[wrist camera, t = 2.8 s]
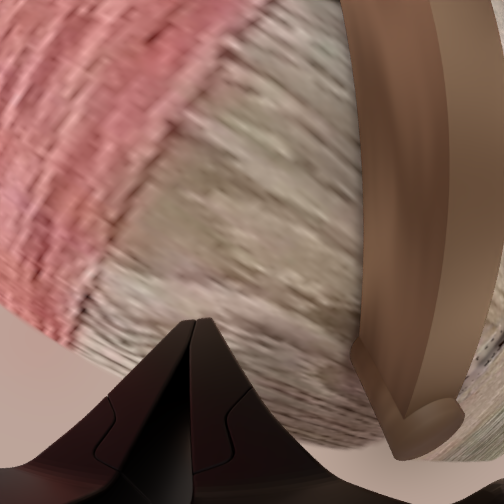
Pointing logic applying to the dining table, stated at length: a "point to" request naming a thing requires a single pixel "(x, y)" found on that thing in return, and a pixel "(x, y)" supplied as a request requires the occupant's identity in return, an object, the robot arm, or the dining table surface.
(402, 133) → the gate
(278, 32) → the dining table surface
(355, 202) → the dining table surface
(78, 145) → the dining table surface
